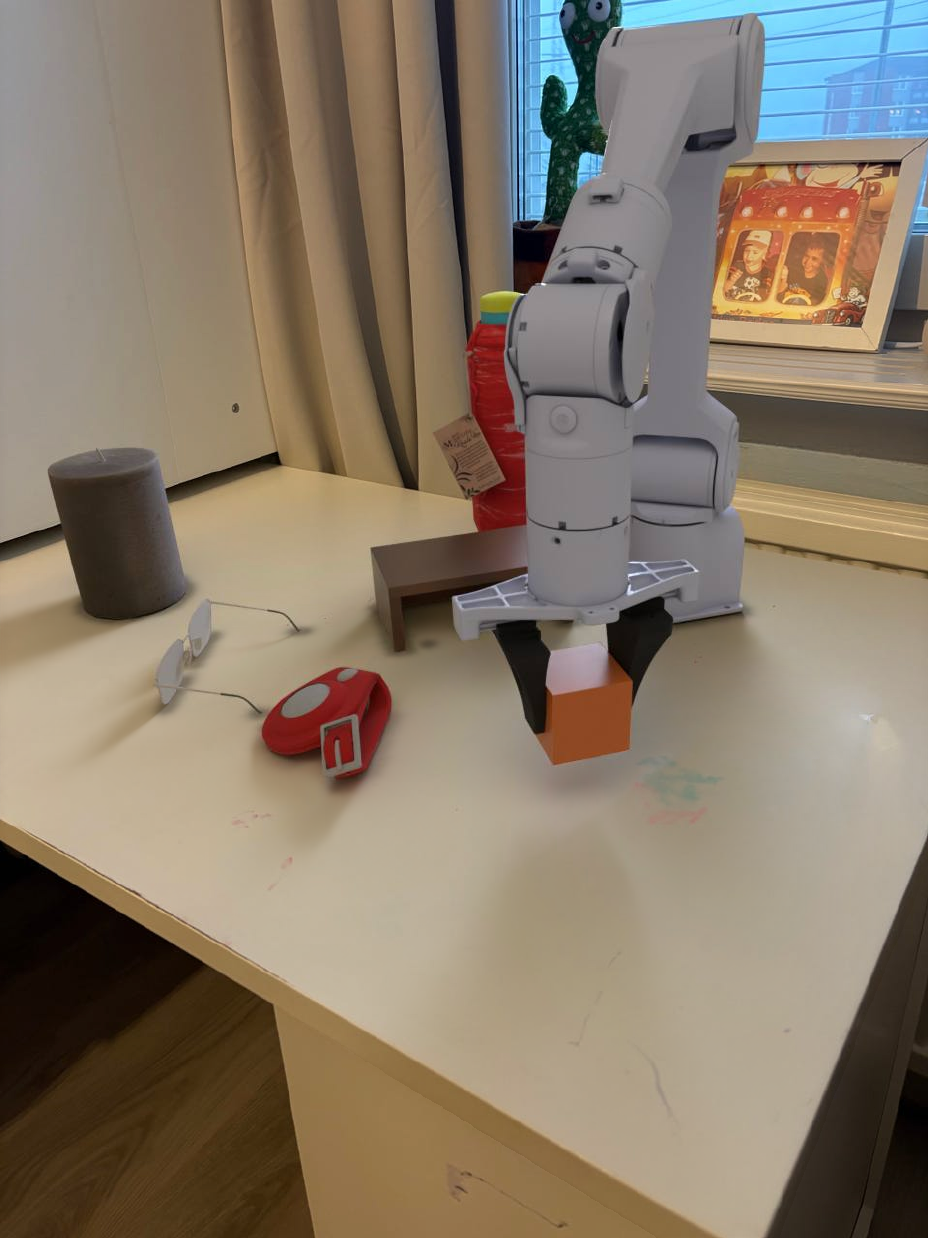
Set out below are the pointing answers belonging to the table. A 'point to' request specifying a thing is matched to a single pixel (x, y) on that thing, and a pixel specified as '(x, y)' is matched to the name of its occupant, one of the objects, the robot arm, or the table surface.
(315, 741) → the tracker holder
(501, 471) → the water bottle
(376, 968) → the table surface
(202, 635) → the eyeglasses
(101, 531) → the pillar candle
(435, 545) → the shelf
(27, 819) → the table surface
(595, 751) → the plain orange wooden cube
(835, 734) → the table surface
